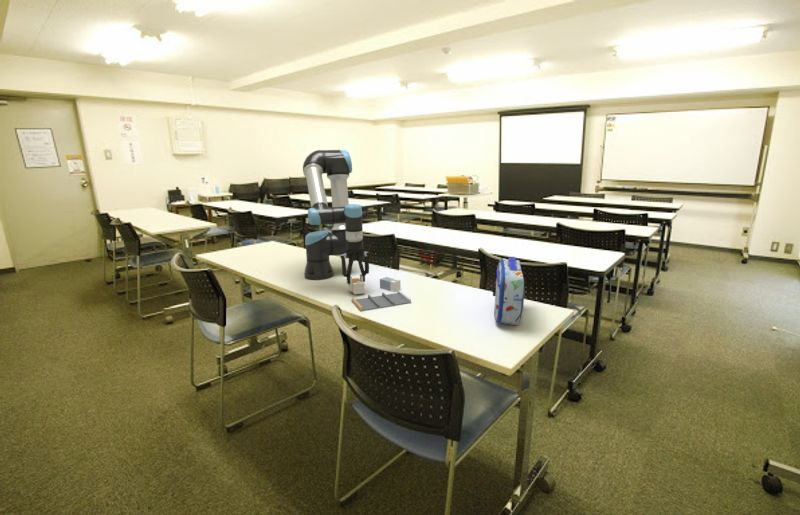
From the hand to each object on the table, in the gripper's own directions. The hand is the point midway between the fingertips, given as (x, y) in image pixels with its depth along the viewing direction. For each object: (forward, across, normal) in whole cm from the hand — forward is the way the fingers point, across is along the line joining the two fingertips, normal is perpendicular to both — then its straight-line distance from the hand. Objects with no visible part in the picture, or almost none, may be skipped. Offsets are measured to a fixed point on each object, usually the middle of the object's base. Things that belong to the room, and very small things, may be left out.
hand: (356, 289), depth 177 cm
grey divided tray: (+1, +6, -16) cm, 17 cm away
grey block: (+2, +16, -2) cm, 16 cm away
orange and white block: (0, 0, 0) cm, 1 cm away
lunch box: (0, +45, -51) cm, 68 cm away
